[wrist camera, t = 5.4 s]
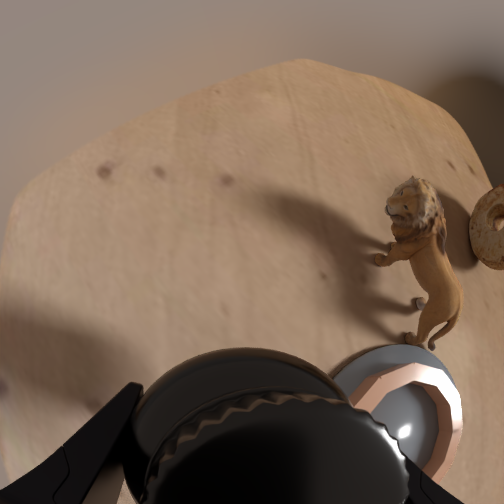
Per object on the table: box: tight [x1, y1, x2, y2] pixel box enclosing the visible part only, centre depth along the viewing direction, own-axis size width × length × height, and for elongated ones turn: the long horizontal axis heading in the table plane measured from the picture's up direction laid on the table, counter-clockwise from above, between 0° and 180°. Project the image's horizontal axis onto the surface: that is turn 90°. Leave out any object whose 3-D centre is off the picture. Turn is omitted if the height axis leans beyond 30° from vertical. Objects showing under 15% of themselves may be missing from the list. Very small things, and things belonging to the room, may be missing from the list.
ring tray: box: [333, 344, 463, 484], centre depth 20 cm, size 18×18×3 cm
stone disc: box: [469, 184, 504, 270], centre depth 27 cm, size 10×4×10 cm, turn 161°
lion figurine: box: [375, 176, 463, 351], centre depth 23 cm, size 15×5×9 cm, turn 25°
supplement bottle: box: [122, 347, 410, 504], centre depth 9 cm, size 7×7×12 cm
